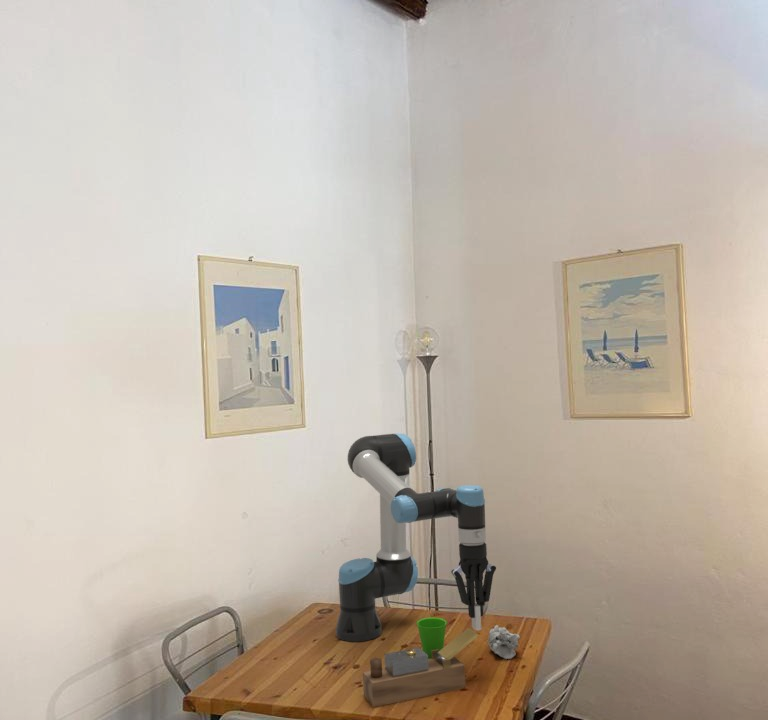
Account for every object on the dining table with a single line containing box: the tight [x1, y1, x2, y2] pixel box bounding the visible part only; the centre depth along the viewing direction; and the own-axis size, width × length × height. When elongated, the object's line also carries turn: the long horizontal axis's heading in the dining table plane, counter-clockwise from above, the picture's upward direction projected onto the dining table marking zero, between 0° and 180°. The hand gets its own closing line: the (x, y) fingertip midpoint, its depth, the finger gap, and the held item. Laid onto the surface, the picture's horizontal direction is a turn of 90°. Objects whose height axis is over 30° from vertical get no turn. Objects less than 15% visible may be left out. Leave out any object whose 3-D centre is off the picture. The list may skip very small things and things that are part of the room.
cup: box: [416, 616, 448, 659], centre depth 210 cm, size 9×9×11 cm
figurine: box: [487, 624, 521, 660], centre depth 213 cm, size 8×10×12 cm
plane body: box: [362, 649, 466, 708], centre depth 190 cm, size 8×26×10 cm, turn 110°
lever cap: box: [384, 647, 429, 677], centre depth 189 cm, size 6×10×5 cm, turn 110°
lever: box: [434, 627, 479, 663], centre depth 194 cm, size 6×1×12 cm
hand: (476, 628), depth 196 cm, fingers closed
